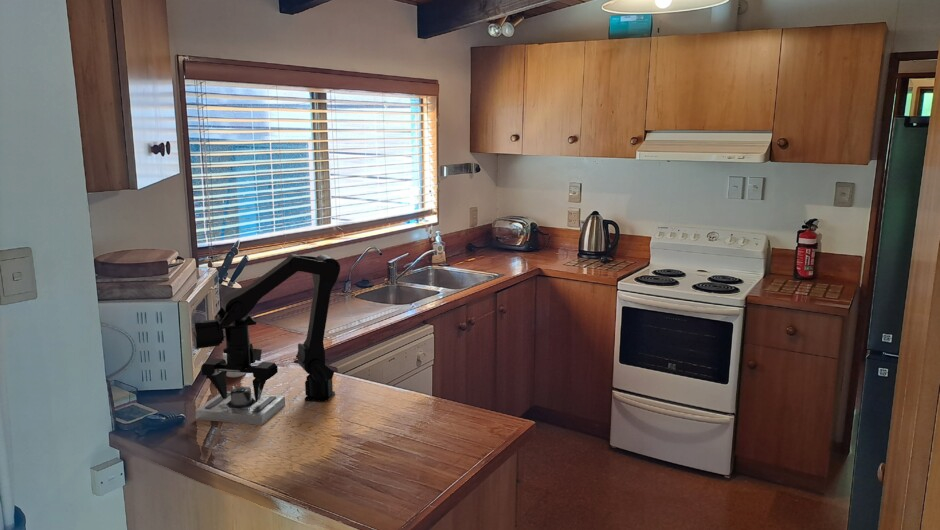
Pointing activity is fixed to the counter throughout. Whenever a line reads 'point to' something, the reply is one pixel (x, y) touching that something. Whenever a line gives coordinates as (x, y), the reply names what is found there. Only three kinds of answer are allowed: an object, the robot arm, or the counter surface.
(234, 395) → the bushing
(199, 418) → the jig
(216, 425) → the counter surface
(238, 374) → the white cylinder
